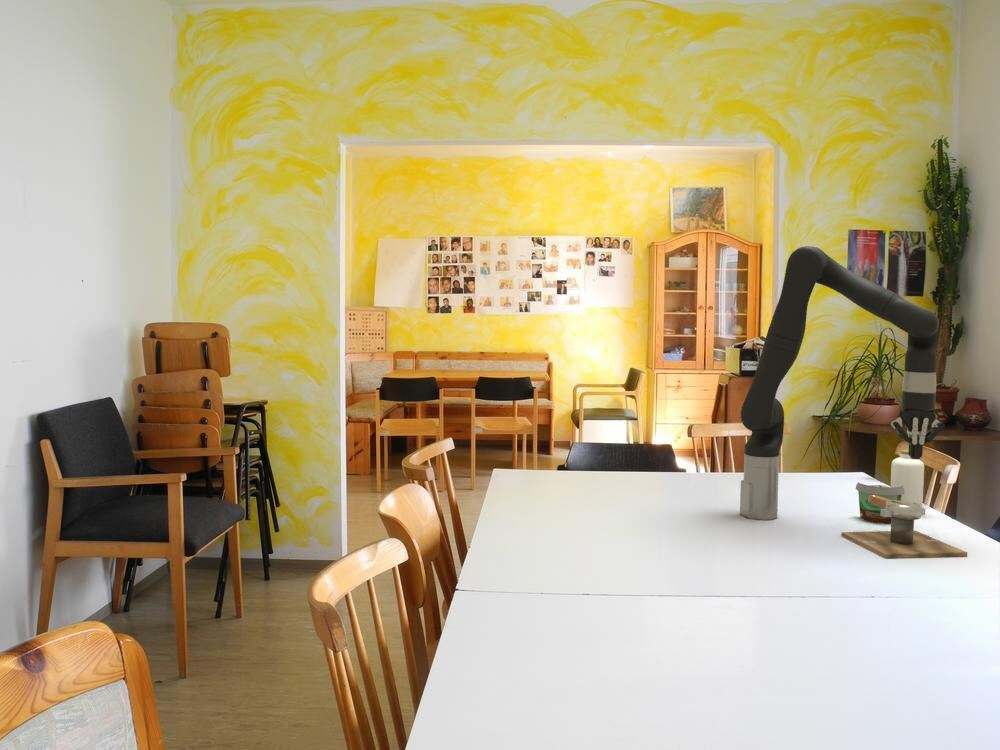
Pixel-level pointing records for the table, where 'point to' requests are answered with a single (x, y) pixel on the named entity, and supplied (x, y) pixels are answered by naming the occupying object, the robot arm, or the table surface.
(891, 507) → the collar
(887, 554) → the post base
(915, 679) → the table surface
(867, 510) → the food container
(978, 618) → the table surface
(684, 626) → the table surface
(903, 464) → the potion bottle
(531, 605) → the table surface
